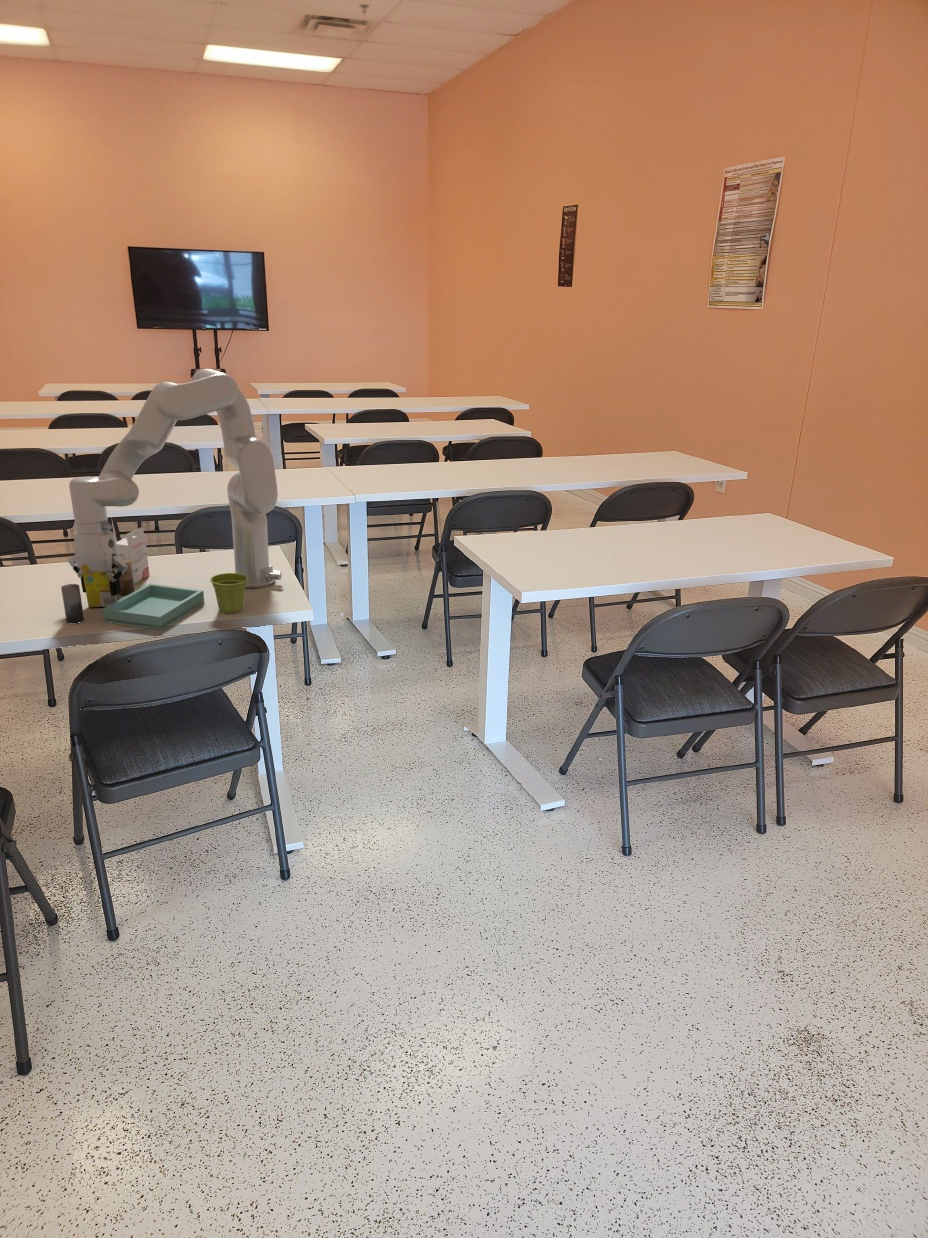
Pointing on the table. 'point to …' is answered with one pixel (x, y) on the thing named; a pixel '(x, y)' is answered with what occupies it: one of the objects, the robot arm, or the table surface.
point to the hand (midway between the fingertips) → (101, 592)
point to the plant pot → (229, 591)
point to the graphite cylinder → (72, 603)
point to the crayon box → (97, 588)
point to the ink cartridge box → (135, 553)
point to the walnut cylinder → (127, 580)
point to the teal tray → (153, 606)
